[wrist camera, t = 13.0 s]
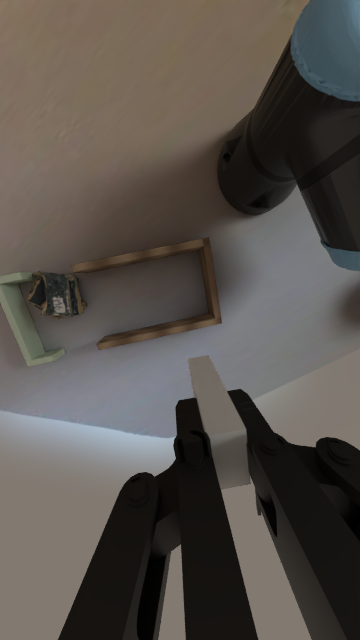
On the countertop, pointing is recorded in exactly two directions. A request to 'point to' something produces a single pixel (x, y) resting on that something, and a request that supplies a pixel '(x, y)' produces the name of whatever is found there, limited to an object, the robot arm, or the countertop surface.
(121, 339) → the cubby
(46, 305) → the rock
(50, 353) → the bracket
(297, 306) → the countertop surface
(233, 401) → the robot arm
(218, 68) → the countertop surface
